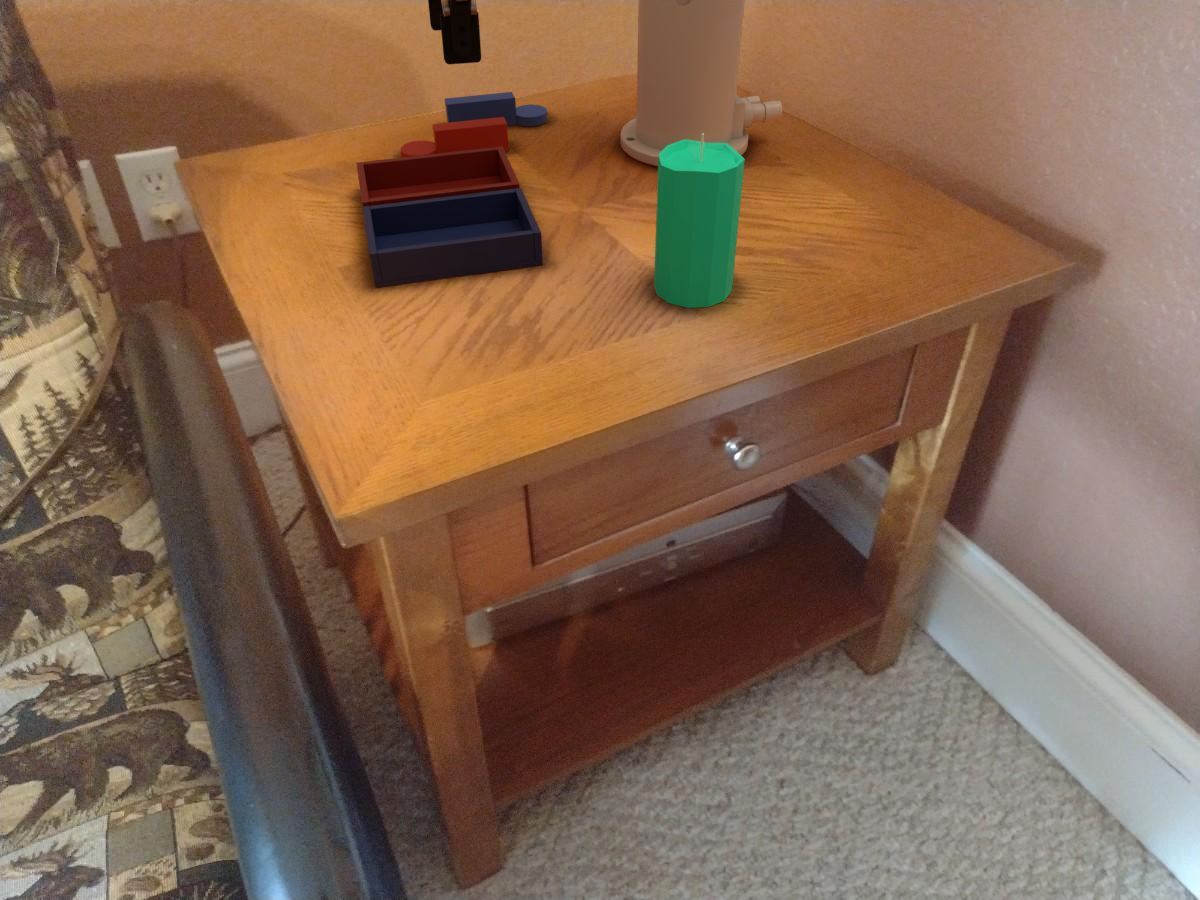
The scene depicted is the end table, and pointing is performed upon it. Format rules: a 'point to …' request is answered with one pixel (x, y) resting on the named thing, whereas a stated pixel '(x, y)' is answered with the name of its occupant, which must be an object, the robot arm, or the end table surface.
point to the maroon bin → (435, 176)
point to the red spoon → (461, 137)
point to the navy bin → (451, 237)
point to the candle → (697, 222)
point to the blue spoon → (494, 109)
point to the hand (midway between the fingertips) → (455, 44)
